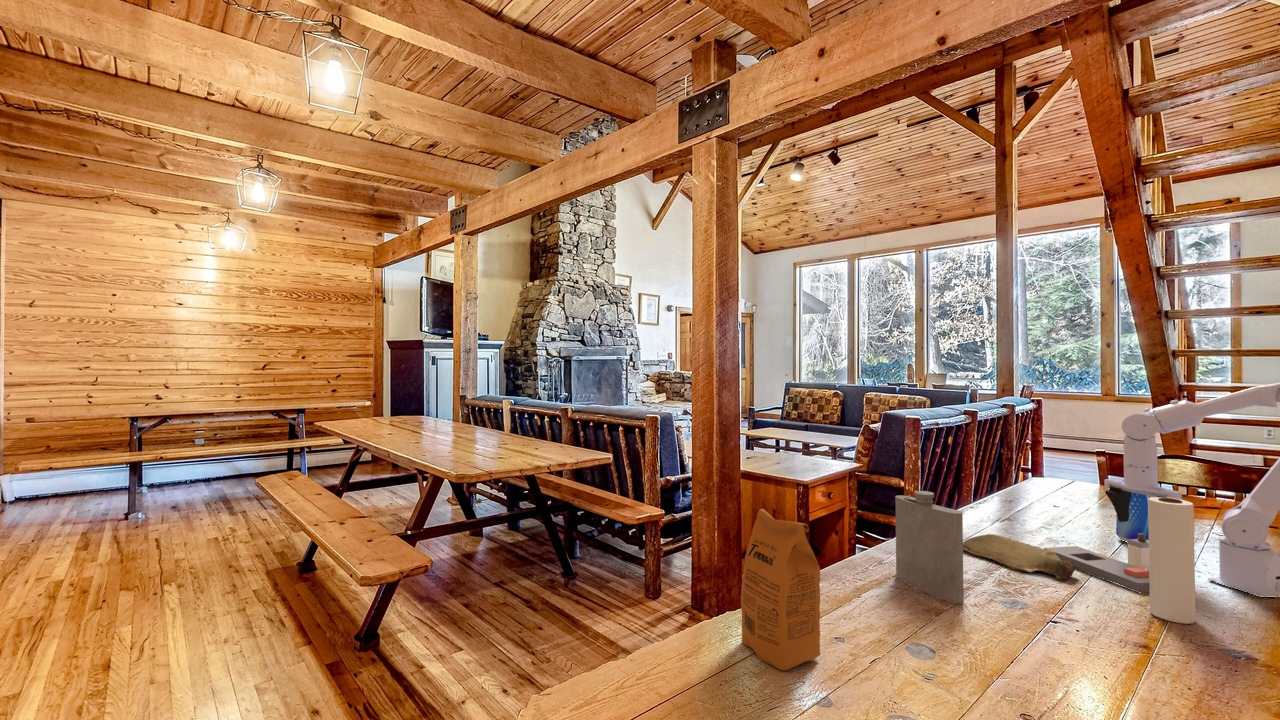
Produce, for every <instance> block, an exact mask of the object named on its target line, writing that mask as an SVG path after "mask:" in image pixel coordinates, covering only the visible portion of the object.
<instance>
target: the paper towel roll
mask: <svg viewBox="0 0 1280 720" xmlns="http://www.w3.org/2000/svg"><path fill="white" fill-rule="evenodd" d="M1194 509H1195V507H1194V503H1193V502H1191V501H1188V500H1184V499H1182V498H1181V499H1176V498H1172V497H1169V496H1167V498H1161V497H1151V498H1148V520H1149V570H1148V571H1149V577H1150V592H1149V611H1150V613H1151V614H1152V615H1153V616H1155V617H1157V618H1159V619H1162V620H1165V621H1169V622H1172V623H1173V622H1174V623H1176V624H1185V625H1186V624H1187V625H1188V624H1194V623H1196V620H1197V619H1196V571H1195V570H1196V569H1195V567H1196V566H1195V564H1196V563H1195V562H1196V561H1195V524H1194V523H1195V520H1194V519H1195V513H1194Z"/></svg>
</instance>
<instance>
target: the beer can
mask: <svg viewBox="0 0 1280 720" xmlns="http://www.w3.org/2000/svg"><path fill="white" fill-rule="evenodd" d="M1121 481H1124V477H1123V478H1121ZM1142 492H1143V491H1142ZM1147 493H1148V492H1147ZM1151 497H1153V496H1148V495H1143V494H1138V493H1132V495H1131V499H1130V504H1129V520H1128V521H1127V522H1120V521H1119V520H1118V517H1117V516H1116V519H1115V520H1116V521H1115V523H1116V527H1115V534H1116V536H1117V537H1118V538H1120V539H1121V540H1124V541H1127V542H1128V539H1138V533H1142V534H1146V540H1149V520H1148V498H1151ZM1120 539H1119V540H1120ZM1121 540H1120V541H1121Z"/></svg>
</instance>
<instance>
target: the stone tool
mask: <svg viewBox="0 0 1280 720" xmlns="http://www.w3.org/2000/svg"><path fill="white" fill-rule="evenodd" d="M963 551H965V552H968V553H970V554H972V555H975V556H977V557H981V558H982V557H983V558H986V559H989V560H990V559H991V560H993V561H995V562H998V563H1000V564H1001V565H1004V566H1006V567H1008V568H1010V569H1011V570H1013V571H1020V572H1027V573H1032V572H1035V571H1037V572H1038V571H1039V572H1042V571H1043V572H1042V573H1045V574H1046V573H1047V574H1049V575H1052V576H1055V578H1056V579H1057V580H1060V581H1061V580H1064V581H1063V582H1067V581H1069V579H1071V577H1072V576H1073V574H1074V572H1075V571H1076V570H1078V569H1077V567H1076V566H1075V565H1074V563H1073V562H1072V561H1071V560H1068V561H1066V560H1064V561H1063V560H1060V559H1059V558H1058V556H1057V555H1056V553H1055V552H1053V551H1050V550H1046V549H1044V548H1041V547H1039V546H1036V545H1031V544H1029V543H1025V542H1022V541H1018V540H1015V539H1011V538H1008V537H1004V536H1001V535H997V534H991V533H990V534H989V533H988V534H980V535H977V536H974V537H969V538H967V539H965V540H963Z"/></svg>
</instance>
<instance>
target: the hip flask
mask: <svg viewBox="0 0 1280 720" xmlns="http://www.w3.org/2000/svg"><path fill="white" fill-rule="evenodd" d="M934 498H935V492H932V491H928V490H916V491H914V496H909V495H903V494H902V495H896V496H895V567H896V568H895V572H896V574H895V575H896V578H897V579H898V580H900V581H902V582H904V581H905V582H906V584H907V583H908V584H907V585H909V584H910V585H909V586H911V585H912V586H911V587H913V586H914V587H913V588H915V587H916V588H915V589H917V588H918V589H917V590H919V589H920V590H919V591H921V590H922V591H921V592H923V591H924V592H923V593H925V592H926V594H927V593H928V594H927V595H930V596H932V595H933V597H934V596H935V597H934V598H937V599H939V598H940V600H942V599H943V600H942V601H944V600H945V601H944V602H947V603H949V604H954V605H962V604H964V599H965V598H964V596H965V595H964V594H965V593H964V550H963V542H964V540H963V539H964V533H963V532H964V531H963V530H964V528H963V527H964V525H963V512H962V511H961V510H958V509H955V508H954V509H953V508H949V507H945V506H941V505H937V504H934V500H933V499H934ZM905 582H904V583H905Z"/></svg>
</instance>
